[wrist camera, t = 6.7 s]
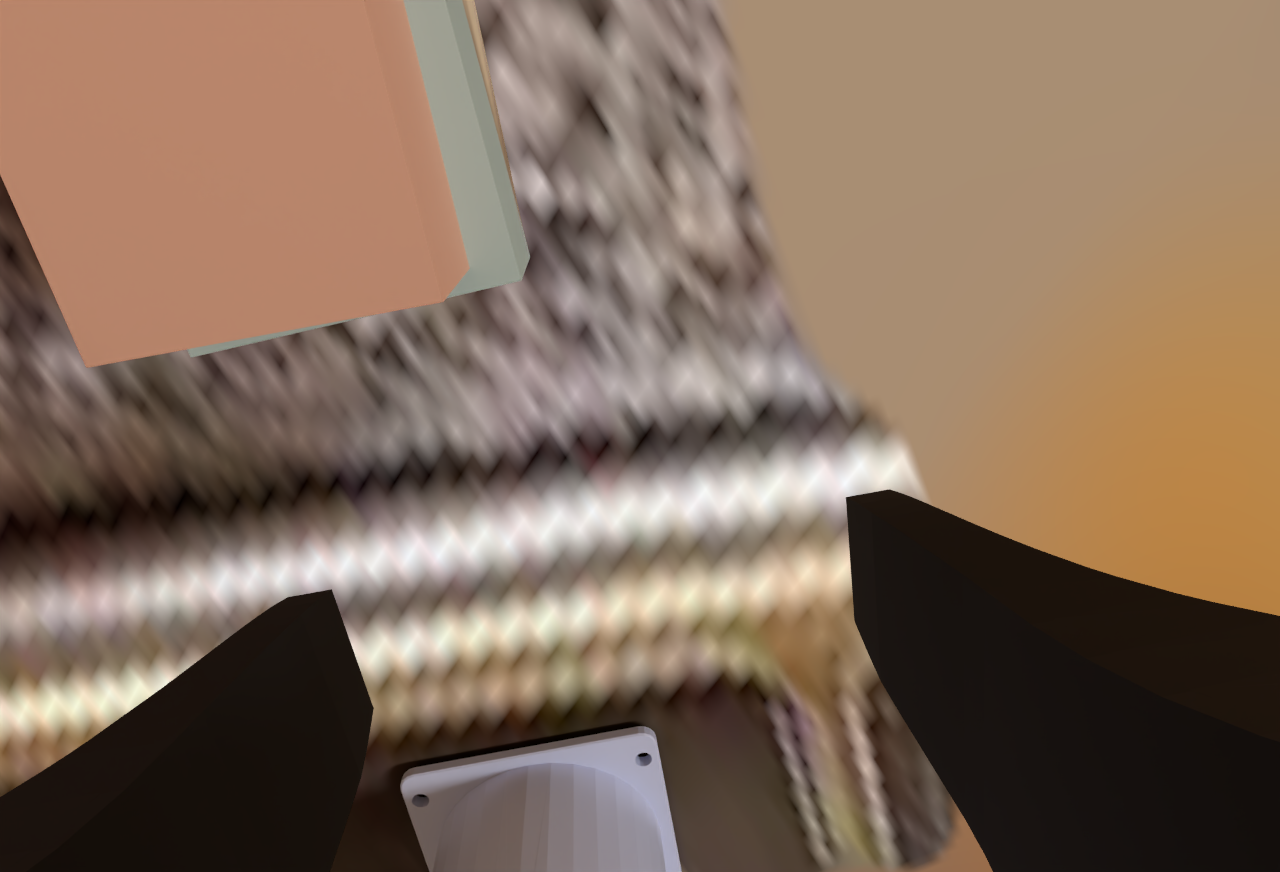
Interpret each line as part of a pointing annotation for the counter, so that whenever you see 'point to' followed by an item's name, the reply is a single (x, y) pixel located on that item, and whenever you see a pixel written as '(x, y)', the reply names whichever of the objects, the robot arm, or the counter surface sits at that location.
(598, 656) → the counter surface
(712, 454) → the counter surface
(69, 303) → the terracotta block
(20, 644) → the counter surface
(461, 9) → the middle block
